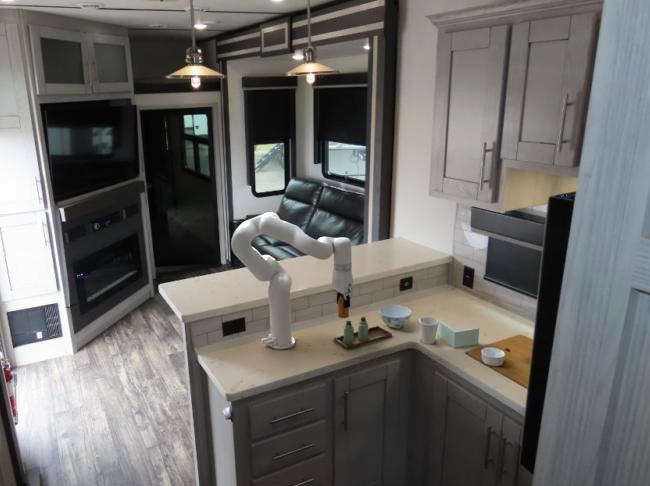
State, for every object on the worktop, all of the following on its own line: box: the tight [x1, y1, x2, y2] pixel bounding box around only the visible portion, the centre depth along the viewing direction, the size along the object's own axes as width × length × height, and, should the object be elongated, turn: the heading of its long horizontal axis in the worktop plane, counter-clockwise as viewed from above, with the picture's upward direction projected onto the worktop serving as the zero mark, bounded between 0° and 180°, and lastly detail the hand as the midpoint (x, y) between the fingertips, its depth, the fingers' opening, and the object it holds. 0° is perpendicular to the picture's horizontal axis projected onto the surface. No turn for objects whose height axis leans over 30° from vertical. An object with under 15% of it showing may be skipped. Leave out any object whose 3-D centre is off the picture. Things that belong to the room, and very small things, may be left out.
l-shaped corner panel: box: [438, 320, 480, 349], centre depth 228 cm, size 12×12×8 cm
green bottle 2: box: [357, 316, 369, 341], centre depth 232 cm, size 5×5×10 cm
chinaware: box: [378, 304, 412, 330], centre depth 245 cm, size 15×15×8 cm
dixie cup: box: [418, 316, 440, 345], centre depth 228 cm, size 8×8×10 cm
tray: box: [333, 325, 393, 351], centre depth 233 cm, size 25×10×2 cm, turn 116°
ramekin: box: [480, 347, 506, 367], centre depth 209 cm, size 9×9×4 cm
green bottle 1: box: [342, 320, 355, 345], centre depth 229 cm, size 5×5×10 cm
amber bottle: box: [337, 293, 350, 319], centre depth 224 cm, size 5×5×10 cm
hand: (343, 305), depth 224 cm, fingers closed on amber bottle, 4 cm apart
